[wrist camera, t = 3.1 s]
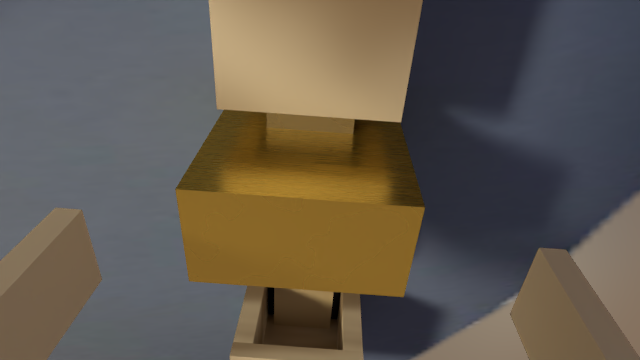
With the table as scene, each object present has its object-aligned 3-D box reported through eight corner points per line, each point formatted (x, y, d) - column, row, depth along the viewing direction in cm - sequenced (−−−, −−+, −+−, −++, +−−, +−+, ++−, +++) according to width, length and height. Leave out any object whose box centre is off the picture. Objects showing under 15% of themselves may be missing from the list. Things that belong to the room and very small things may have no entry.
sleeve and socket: (232, -257, 13) (166, -365, 8) (438, -243, 13) (499, -342, 8) (253, 323, 28) (234, 411, 23) (350, 330, 28) (352, 420, 23)
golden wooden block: (218, -269, 12) (74, -493, 6) (452, -253, 12) (585, -458, 6) (243, 235, 23) (202, 368, 16) (370, 244, 23) (383, 381, 16)
